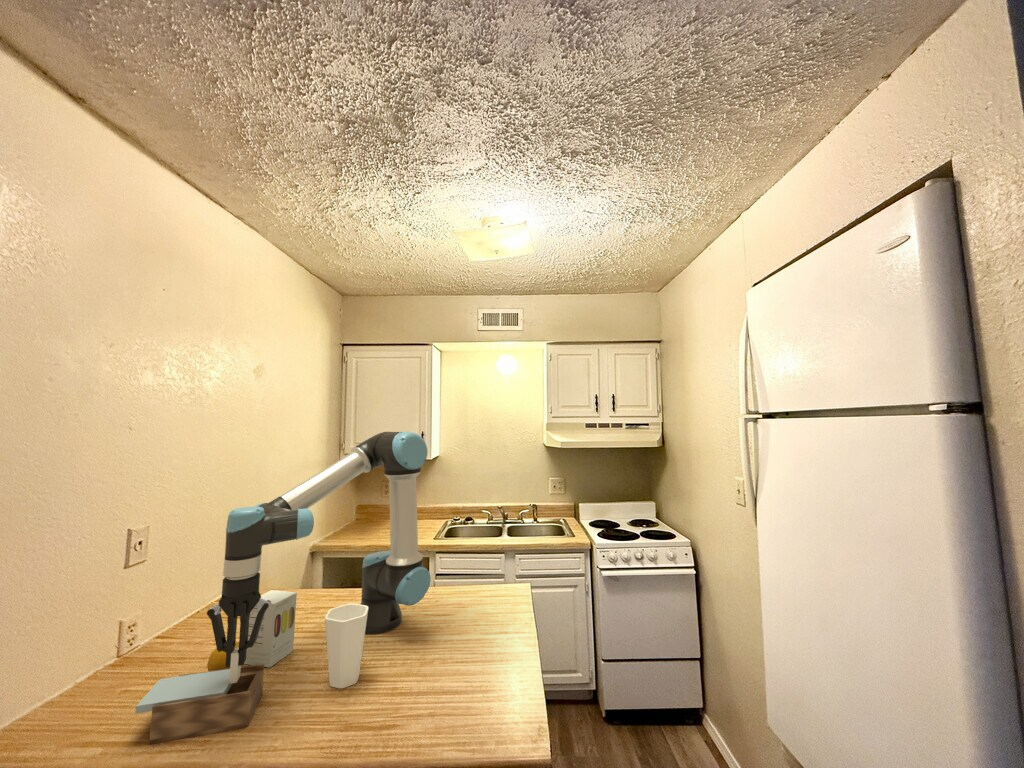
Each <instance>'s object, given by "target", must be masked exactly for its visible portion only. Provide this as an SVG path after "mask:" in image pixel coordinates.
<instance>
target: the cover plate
mask: <svg viewBox="0 0 1024 768" xmlns="http://www.w3.org/2000/svg"><path fill="white" fill-rule="evenodd" d="M205 672H206V673H200V672H198V673H199V674H193V673H191V674H192V675H185V674H184V675H185V676H179V675H178V676H173V677H165V678H160V679H159V680H158V681H156V683H155V684H154V685H153V686H152V687H151V689H150V690H149V691H148V692H147V693H146V694H145V696H143V698H142V699H141V700H140V701H139V702H138V703H137V704H136V705H135V712H134V714H136V715H137V714H143V713H148V712H152V707H153V706H154V705H161V704H167V703H174V702H180V701H187V700H193V699H200V698H206V697H213V696H219V695H225V694H227V692H228V690H229V689H230V687H231V685H232V684H233V683H231V684H229V678H230V669H226V670H219V671H212V672H207V671H205Z"/></svg>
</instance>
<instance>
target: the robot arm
mask: <svg viewBox="0 0 1024 768" xmlns="http://www.w3.org/2000/svg"><path fill="white" fill-rule="evenodd" d="M427 458H428V447H427V442H426V441H425V439H424V438H423V437H422V436H421V435H420V434H418V433H416V432H411V431H410V432H409V431H406V430H405V431H383V432H380V433H378V434H375V435H373V436H371V437H369V438H367V439H366V440H364V441H362V442H360V443H359V444H357V445H356V446H354V447H352V448H351V450H350V453H349V454H347V455H345V456H343V457H342V458H339V460H337V461H335V462H333V463H332V464H330V465H329V466H327V467H325V468H324V469H322V470H320V471H319V472H318V473H316V474H314V475H312V476H311V477H309V478H308V479H306V480H304V481H303V482H301V483H299V484H297V485H295V486H294V487H293V488H291V489H289V490H288V491H286V492H285V493H282V494H281V495H280V496H277V497H276V498H274V499H272V500H271V501H269V502H263V503H258V504H256V505H255V506H244V507H243V506H242V507H237V508H235V509H233V510H231V511H230V512H229V513H228V516H227V521H226V527H225V546H224V559H223V561H224V562H223V573H222V576H223V579H222V584H221V585H222V588H221V597H220V599H219V601H218V603H217V604H216V605H212V606H211V607H210V608H209V609H208V610H207V611H206V615H207V617H208V618H209V619H210V621H211V622H210V623H211V624H212V631H213V636H214V641H215V645H216V646H215V647H216V648H217V651H218V652H221V651H224V652H226V667H230V678H229V684H231V683H237V681H238V679H239V677H240V671H241V665H243V664H244V663H245V661H246V653H247V648H251V647H252V646H253V645H254V643H255V642H256V639H257V636H258V633H259V630H260V627H261V624H262V620H263V617H264V614H265V611H266V610H267V608H268V607H269V605H270V603H271V601H270V600H267V601H265V600H263V599H262V598H261V595H262V594H261V593H260V581H261V573H260V571H261V567H262V564H261V563H262V550H263V549H262V548H263V546H267V545H270V544H271V545H272V544H278V543H283V542H284V543H285V542H289V541H294V540H296V541H297V540H299V539H303V538H307V537H309V536H310V535H311V533H313V530H314V524H315V518H314V514H313V512H312V510H311V509H309V508H311V507H312V506H314V505H315V504H317V503H319V502H320V501H321V500H323V499H324V498H326V497H327V496H330V495H331V494H332V493H333V492H335V491H337V490H338V489H340V488H341V487H343V486H345V485H346V484H347V483H349V482H350V481H353V479H355V478H356V477H358V476H359V475H361V474H363V473H365V474H366V473H369V472H370V471H373V470H374V469H377V468H380V467H383V472H384V473H383V475H384V476H385V478H387V479H388V481H389V483H388V484H389V486H388V487H389V489H388V490H389V532H390V533H389V534H390V535H389V537H390V538H389V539H390V540H389V541H390V550H382V551H377V552H373V553H369V554H367V555H366V556H365V557H364V558H363V561H362V567H361V570H362V573H361V574H362V575H361V576H362V577H361V601H360V604H359V605H365V606H368V607H369V608H368V615H367V622H366V629H365V635H375V634H376V635H377V634H383V633H388V632H390V631H393V630H394V629H396V628H398V627H399V626H400V625H401V624H402V621H403V620H402V619H403V616H402V615H403V614H402V610H401V606H400V605H404V606H409V607H410V606H413V605H416V604H418V603H419V602H420V601H421V600H423V598H425V595H426V594H427V592H428V591H429V588H430V585H431V578H432V577H431V573H430V572H429V570H428V569H427V568H426V567H424V556H423V554H422V553H421V552H419V547H418V546H419V545H418V544H419V543H418V542H419V541H418V540H419V537H418V536H419V535H418V503H417V502H418V497H417V496H418V494H417V477H418V476H419V475H420V474H421V472H422V467H423V465H424V464H425V461H427ZM256 604H258V610H259V612H258V614H257V617H256V620H255V623H254V626H253V630H252V633H251V636H250V639H249V640H248V631H249V616H250V612H251V611H252V610H253V608H254V607H255V606H256ZM222 611H223V612H224V614H225V615H226V616H227V621H226V622H227V630H226V631H227V633H226V631H225V628H224V623H223V619H222V618H223V617H222V614H221V612H222ZM238 617H239V622H240V624H239V640H238V642H239V648H235V649H234V647H235V646H236V644H235V642H237V641H236V640H237V639H236V638H237V625H238ZM244 665H245V664H244ZM244 665H243V666H244Z"/></svg>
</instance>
